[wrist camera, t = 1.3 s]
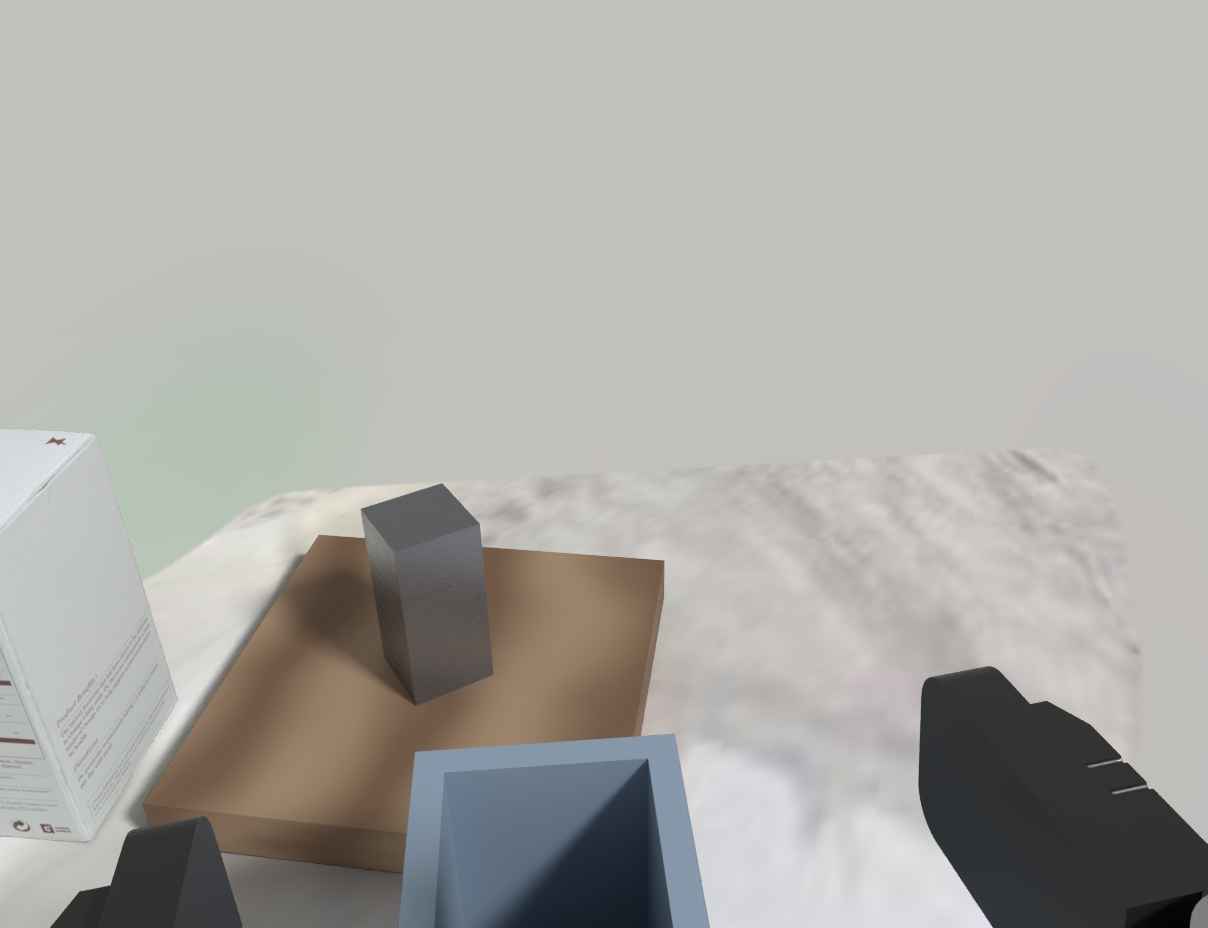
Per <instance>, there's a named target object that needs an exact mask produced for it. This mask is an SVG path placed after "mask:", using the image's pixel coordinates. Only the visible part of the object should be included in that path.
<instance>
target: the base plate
mask: <svg viewBox="0 0 1208 928" xmlns="http://www.w3.org/2000/svg"><path fill="white" fill-rule="evenodd" d="M482 555H483V566H484V577H485V587H486V598H487V609H488V620H489V630H490V641H491V652H492V663H493V674H494V675H491V676H489V677H486V678H484V679H482V680H479V681H477V682H474V683H472V684H469V685H467V686H464V687H462V688H459V689H457V690H455V691H452V692H450V693H447V694H445V695H442V696H440V697H437V698H435V699H432V700H430V701H428V702H425V703H423V704H420V705H418V706H416V705H415V703H414V702H413V700H412V699H411V697H410V696H409V694H408V693H407V691H406V690H405V688H404V687H403V685H402V684H401V682H400V681H399V679H398V678H397V676H396V675H395V673H394V672H393V670H392V669H391V667H390V666H389V664H388V662H387V661H386V659H385V658H384V653H383V646H382V640H381V634H380V627H379V621H378V615H377V609H376V602H375V596H374V590H373V584H372V577H371V571H370V565H369V558H368V552H367V546H366V540H365V538H354V537H340V536H327V535H318V537H317V538H316V540H315V542H314V543H313V545H312V546H311V548H310V549H309V551H308V552H307V554H306V555H305V557H304V558H303V560H302V561H301V563H300V564H299V566H298V568H297V569H296V571H295V572H294V574H293V575H292V577H291V578H290V580H289V581H288V583H287V584H286V586H285V587H284V589H283V590H282V592H281V593H280V595H279V597H278V598H277V600H276V601H275V603H274V604H273V606H272V607H271V609H270V610H269V612H268V613H267V615H266V616H265V618H264V619H263V621H262V622H261V624H260V626H259V627H258V629H257V630H256V632H255V633H254V635H253V636H252V638H251V639H250V641H249V642H248V644H247V645H246V647H245V648H244V650H243V651H242V653H241V655H240V656H239V658H238V659H237V661H236V662H235V664H234V665H233V667H232V668H231V670H230V671H229V673H228V674H227V676H226V677H225V679H224V680H223V682H222V684H221V685H220V687H219V688H218V690H217V691H216V693H215V694H214V696H213V697H212V699H211V700H210V702H209V703H208V705H207V706H206V708H205V709H204V711H203V713H202V714H201V716H200V717H199V719H198V720H197V722H196V723H195V725H194V726H193V728H192V729H191V731H190V732H189V734H188V735H187V737H186V739H185V740H184V742H183V743H182V745H181V746H180V748H179V749H178V751H177V752H176V754H175V755H174V757H173V758H172V760H171V761H170V763H169V764H168V766H167V768H166V769H165V771H164V772H163V774H162V775H161V777H160V778H159V780H158V781H157V783H156V784H155V786H154V787H153V789H152V790H151V792H150V793H149V795H148V797H147V798H146V800H145V801H144V803H143V806H144V809H145V812H146V815H147V818H148V821H149V824H150V826H154V825H159V824H164V823H169V822H175V821H180V820H185V819H190V818H195V817H200V816H205V817H206V818H207V819H208V820H209V821H210V823H211V825H212V828H213V831H214V834H215V837H216V840H217V844H218V847H219V850H220V852H228V853H236V854H245V855H253V856H262V857H270V858H278V859H287V860H295V861H304V862H312V863H321V864H329V865H338V866H346V867H355V868H363V869H372V870H380V871H389V872H397V873H403V870H404V860H405V850H406V839H407V829H408V819H409V809H410V798H411V788H412V778H413V768H414V757H415V752H419V751H433V750H448V749H462V748H477V747H491V746H506V745H520V744H535V743H549V742H564V741H578V740H593V739H607V738H622V737H636V736H640V735H641V730H642V724H643V718H644V712H645V706H646V700H647V694H648V688H649V682H650V676H651V670H652V664H653V658H654V652H655V646H656V640H657V635H658V629H659V623H660V617H661V611H662V605H663V599H664V561H662V560H649V559H636V558H622V557H609V556H595V555H582V554H569V553H555V552H542V551H528V550H515V549H501V548H488V547H482Z"/></svg>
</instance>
